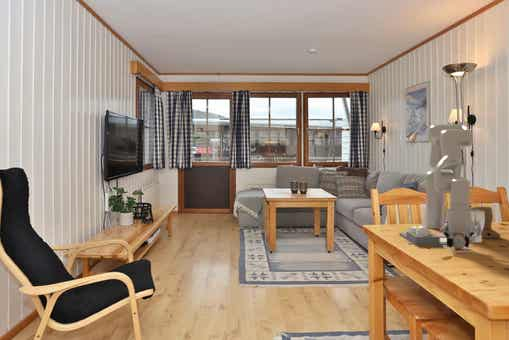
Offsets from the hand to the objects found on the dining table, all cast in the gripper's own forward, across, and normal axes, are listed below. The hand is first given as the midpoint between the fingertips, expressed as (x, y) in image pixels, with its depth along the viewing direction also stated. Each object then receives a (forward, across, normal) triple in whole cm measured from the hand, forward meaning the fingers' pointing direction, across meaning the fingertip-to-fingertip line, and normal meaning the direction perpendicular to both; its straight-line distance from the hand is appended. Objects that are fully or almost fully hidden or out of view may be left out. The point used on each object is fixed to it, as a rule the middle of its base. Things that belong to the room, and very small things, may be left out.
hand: (457, 246), depth 168 cm
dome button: (-1, +11, -11) cm, 16 cm away
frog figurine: (+1, 0, 0) cm, 1 cm away
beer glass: (+1, -15, -13) cm, 20 cm away
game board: (+1, +6, -11) cm, 12 cm away
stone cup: (+1, -26, -25) cm, 36 cm away
